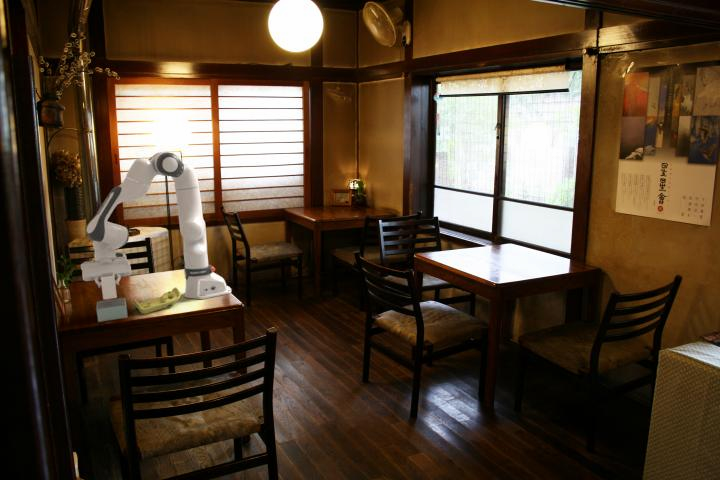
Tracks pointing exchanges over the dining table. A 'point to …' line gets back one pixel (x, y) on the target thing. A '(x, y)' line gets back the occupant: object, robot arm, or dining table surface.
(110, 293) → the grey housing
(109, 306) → the stand
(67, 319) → the dining table surface
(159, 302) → the plastic component
